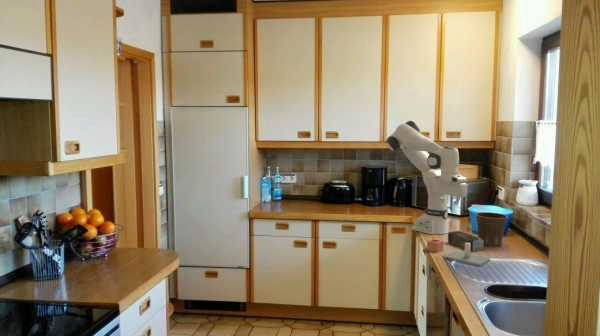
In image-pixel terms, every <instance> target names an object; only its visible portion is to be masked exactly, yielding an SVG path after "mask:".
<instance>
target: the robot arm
mask: <svg viewBox="0 0 600 336" xmlns="http://www.w3.org/2000/svg"><path fill="white" fill-rule="evenodd" d="M385 140H386V145H387V147H388V149H389V150H391V151H392V152H395V153H397V152H398V151H400V150H402V152H403V153H404V155H405V156H406V157H407V159H408V160H409V161H410V163H412V164H413V165H414V166H415V167H416V168H417V169H418V171H420V172H423V173H424V174H423V176H422V180H423V183H424V184H425V187H426V191H427V196H428V197H427V207H425V208H424V209H423V212H424V213H423V214H422V215H421V216H418V217H417V218H416V220H415V222H414V225H412V226H411V228H410V230H412V231H417V232H419V233H424V234H427V235H442V234H443V235H444V234H448V232H450V231H449V227H448V196H452V197H455V200H454V201H453V204H454V205H457V206H458V205H459V201H460V200H461V198H465V197H467V196H468V185H467V182H468V179H467V177H465V176H463V175H461V174H460V173H459V165H460V161H461V160H460V156H459V155H460V153H459V150H458V148H457V147H455V146H452V145H451V146H450V145H446V146H445V145H444V146H442V145H441V144H440V143H437V142H436V141H434V140H432V139H431V138H429V137H427V136H426V135H424V134H423V133H421V132H420V127H419V125H418V124H417V123H416V122H415V121H413V120H408V121H406V122H405V123H403V124H399V125H398V126H397V127H396V129H395V131H394V132H393V133H392V134H391V135H390V136H388V137H387V138H386V139H385Z"/></svg>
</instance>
